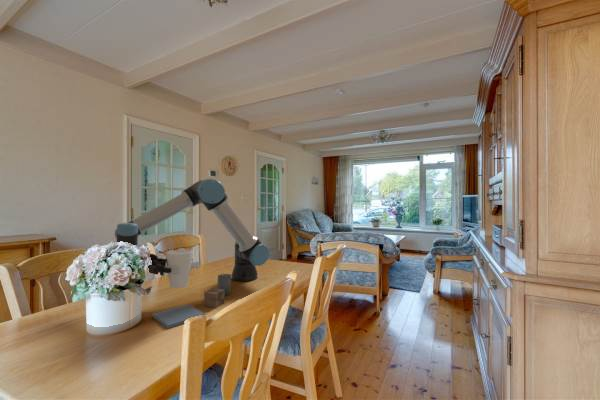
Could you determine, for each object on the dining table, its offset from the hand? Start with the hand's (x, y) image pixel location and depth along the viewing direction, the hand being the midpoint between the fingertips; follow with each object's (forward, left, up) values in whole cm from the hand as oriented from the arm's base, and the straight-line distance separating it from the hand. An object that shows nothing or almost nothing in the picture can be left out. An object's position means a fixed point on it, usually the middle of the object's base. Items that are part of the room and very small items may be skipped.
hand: (189, 267), depth 103 cm
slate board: (+2, -4, -19) cm, 20 cm away
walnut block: (-14, -6, -19) cm, 25 cm away
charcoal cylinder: (-25, -15, -19) cm, 35 cm away
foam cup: (+2, -4, -7) cm, 9 cm away
